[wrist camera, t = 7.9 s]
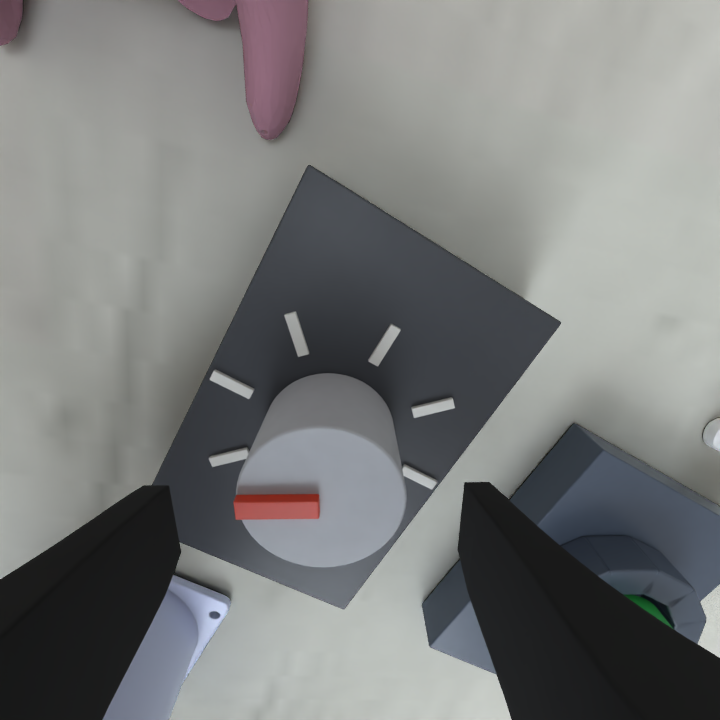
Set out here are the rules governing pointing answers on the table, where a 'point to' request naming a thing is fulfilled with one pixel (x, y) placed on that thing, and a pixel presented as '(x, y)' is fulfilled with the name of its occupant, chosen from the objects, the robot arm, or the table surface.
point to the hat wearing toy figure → (712, 434)
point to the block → (602, 539)
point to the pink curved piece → (260, 51)
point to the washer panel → (348, 365)
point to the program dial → (323, 474)
